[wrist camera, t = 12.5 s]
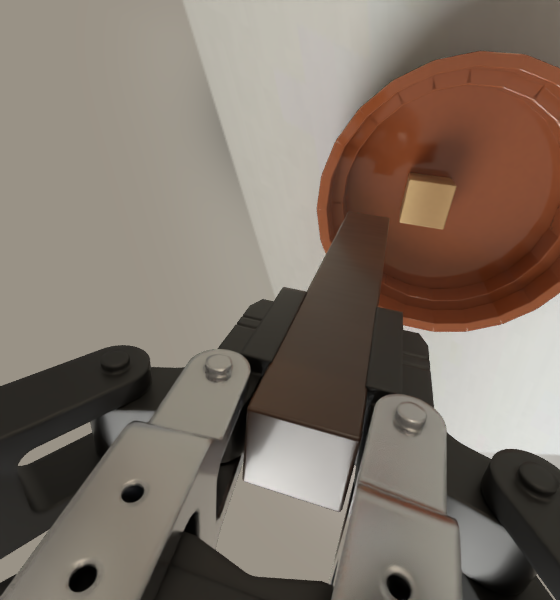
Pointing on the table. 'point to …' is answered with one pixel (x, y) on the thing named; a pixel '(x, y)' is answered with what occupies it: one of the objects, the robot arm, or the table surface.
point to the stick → (320, 375)
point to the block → (427, 200)
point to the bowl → (458, 188)
